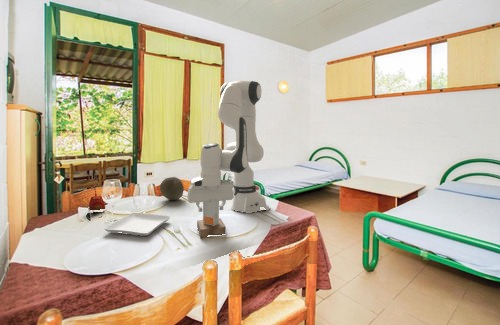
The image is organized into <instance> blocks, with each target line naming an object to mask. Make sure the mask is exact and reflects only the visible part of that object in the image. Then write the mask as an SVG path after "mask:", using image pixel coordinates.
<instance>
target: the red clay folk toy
mask: <svg viewBox="0 0 500 325" xmlns="http://www.w3.org/2000/svg"><path fill="white" fill-rule="evenodd" d="M96 187H97V185H96V184H93V187H91V186H90V190H93V189H94V196H91V197H90V199H89V202H88V209H90V210H100V209H106V203H105V202H106V201H105V200H104V198H102V197H103V196H102V195H97V190H96ZM103 200H104V201H103ZM90 210H89V211H90Z"/></svg>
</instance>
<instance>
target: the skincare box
mask: <svg viewBox="0 0 500 325" xmlns="http://www.w3.org/2000/svg"><path fill="white" fill-rule="evenodd" d="M219 205H220V201H218V199H209V201H208V202H202V220H203V224H207V225H212V226H215V225H217V224H218V223H219V218H220V209H219V208H220V207H219Z"/></svg>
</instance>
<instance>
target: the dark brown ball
mask: <svg viewBox="0 0 500 325" xmlns="http://www.w3.org/2000/svg"><path fill="white" fill-rule="evenodd" d="M184 189H185V187H184V184H183V182H182V181H181V179H180V178H178V177H176V176H171V177H166V178H164V179H163V180H162V181H161V183H160V186H159V190H160V193H161V195H162V196H163V197H164V198H166V199H167V200H169V201H177V200H179V199H181V198H182V196H183V194H184Z"/></svg>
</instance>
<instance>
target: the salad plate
mask: <svg viewBox="0 0 500 325" xmlns="http://www.w3.org/2000/svg"><path fill="white" fill-rule="evenodd" d="M170 218H171V216H169V215H161V214H152V213H141V212H132V213H130V214H128V215H126V216H125V217H122V218H121V219H119V220H117V221H115V222H113V223H111V224H110V225H108V226H105V227H104V228H103V229H104V231H105V232H108V233H110V234H111V233H112V234H118V232H122V233H127V234H132V235H131V236H138V235H140V237H147V236H148V235H150V234H152V233H153V232H154V231H155V230H157V229H158V228H160V226H162V225H163V224H165V223H166V222H167V221H169V220H170ZM134 230H135V231H136V230H137V231H149V232H148V233H140V232H133V231H134ZM127 234H126V235H127Z"/></svg>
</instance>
